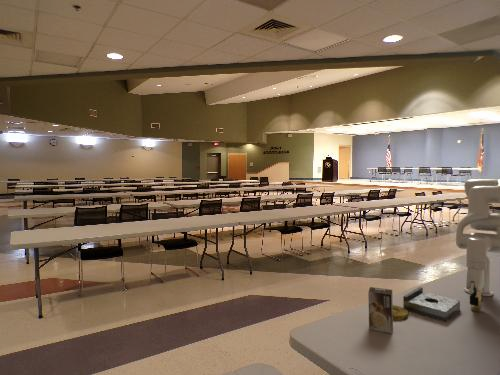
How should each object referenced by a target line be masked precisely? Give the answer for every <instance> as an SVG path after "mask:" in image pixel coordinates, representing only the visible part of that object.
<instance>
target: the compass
mask: <svg viewBox="0 0 500 375" xmlns="http://www.w3.org/2000/svg"><path fill="white" fill-rule="evenodd" d="M408 317H409V311H407V310H406V309H404V308H403V307H402V306H399V305H394V304H393V321H402V320H403V319H406V318H408Z"/></svg>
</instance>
